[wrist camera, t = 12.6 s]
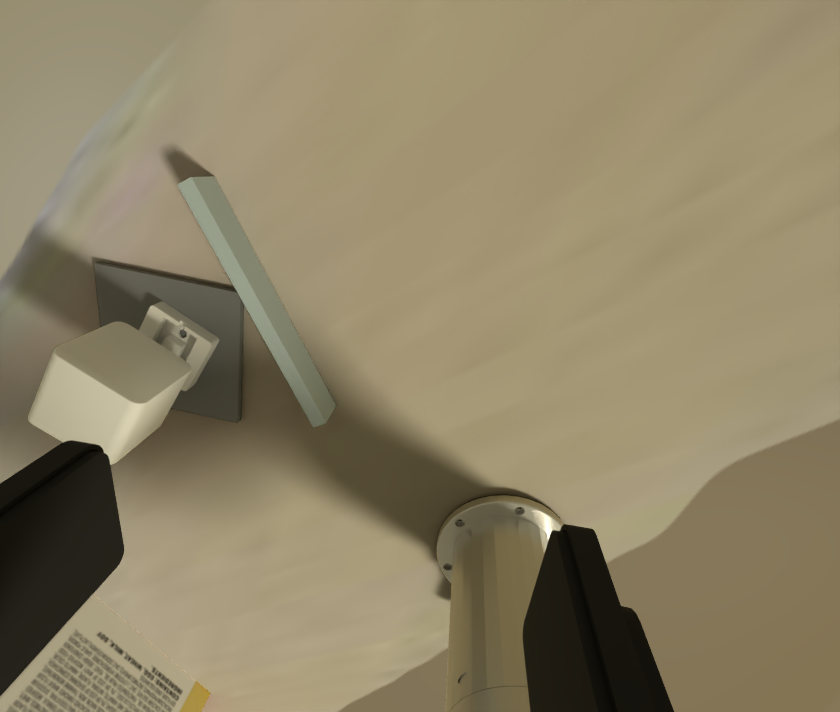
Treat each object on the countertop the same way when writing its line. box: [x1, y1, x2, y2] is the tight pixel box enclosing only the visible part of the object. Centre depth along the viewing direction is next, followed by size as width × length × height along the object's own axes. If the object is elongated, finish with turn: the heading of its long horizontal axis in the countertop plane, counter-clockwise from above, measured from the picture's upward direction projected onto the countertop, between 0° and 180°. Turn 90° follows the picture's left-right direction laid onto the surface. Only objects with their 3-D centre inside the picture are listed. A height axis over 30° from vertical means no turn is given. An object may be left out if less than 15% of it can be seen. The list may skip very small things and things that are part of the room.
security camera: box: [28, 301, 219, 465], centre depth 34 cm, size 6×7×10 cm
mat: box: [94, 262, 244, 423], centre depth 39 cm, size 12×12×1 cm
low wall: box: [177, 176, 336, 428], centre depth 35 cm, size 20×1×3 cm, turn 23°
